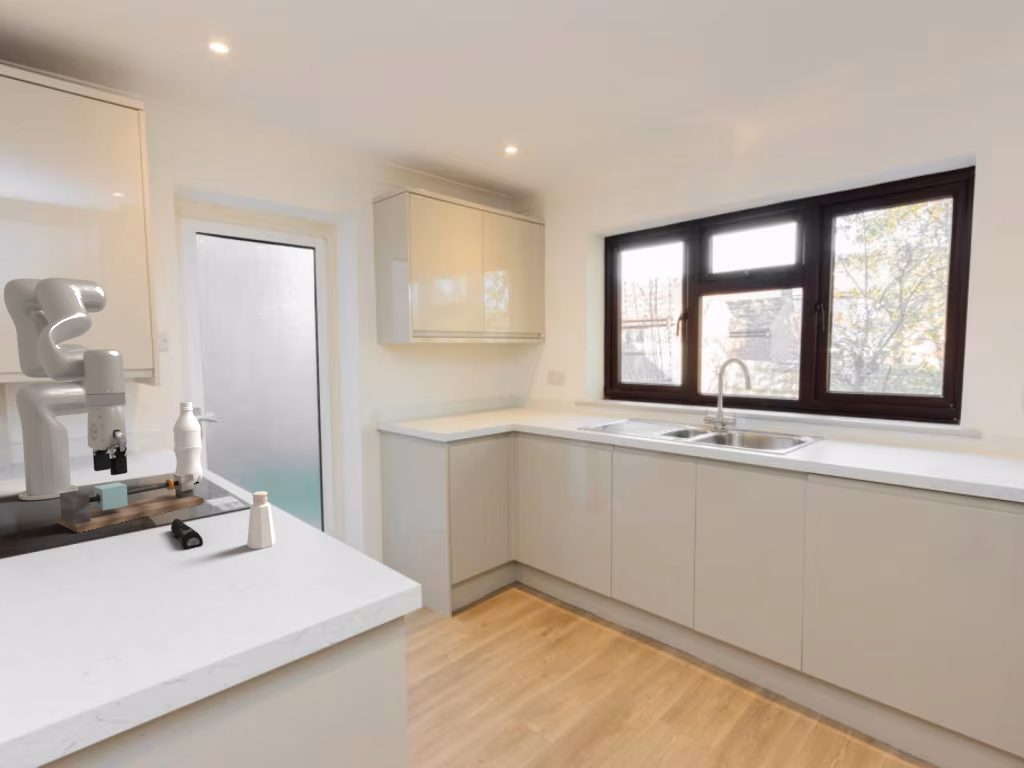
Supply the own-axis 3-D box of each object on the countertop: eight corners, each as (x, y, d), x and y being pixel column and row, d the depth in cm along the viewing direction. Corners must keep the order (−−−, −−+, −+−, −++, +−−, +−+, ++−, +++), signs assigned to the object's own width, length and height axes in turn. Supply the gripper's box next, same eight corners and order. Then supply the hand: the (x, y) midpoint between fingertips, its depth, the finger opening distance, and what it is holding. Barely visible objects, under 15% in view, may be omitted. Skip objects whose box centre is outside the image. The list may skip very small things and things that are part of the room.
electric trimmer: (186, 529, 121) (186, 515, 121) (204, 546, 110) (203, 531, 110) (167, 533, 118) (166, 519, 118) (183, 551, 107) (182, 536, 107)
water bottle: (190, 487, 157) (186, 403, 156) (169, 485, 159) (166, 403, 157) (208, 481, 164) (205, 401, 163) (188, 480, 166) (185, 400, 164)
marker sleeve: (103, 510, 124) (101, 489, 124) (94, 507, 127) (93, 486, 127) (127, 505, 128) (126, 484, 128) (119, 502, 131) (118, 482, 131)
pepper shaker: (247, 551, 107) (245, 497, 106) (246, 542, 111) (245, 491, 111) (276, 546, 109) (275, 494, 108) (275, 538, 114) (273, 487, 113)
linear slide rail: (77, 533, 118) (76, 499, 117) (58, 523, 124) (56, 492, 124) (203, 503, 140) (202, 475, 139) (181, 496, 147) (180, 470, 146)
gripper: (73, 401, 128) (77, 471, 129) (101, 403, 118) (106, 479, 119) (109, 399, 134) (114, 466, 135) (140, 400, 124) (144, 472, 125)
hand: (110, 472), depth 127 cm, fingers open, 9 cm apart
